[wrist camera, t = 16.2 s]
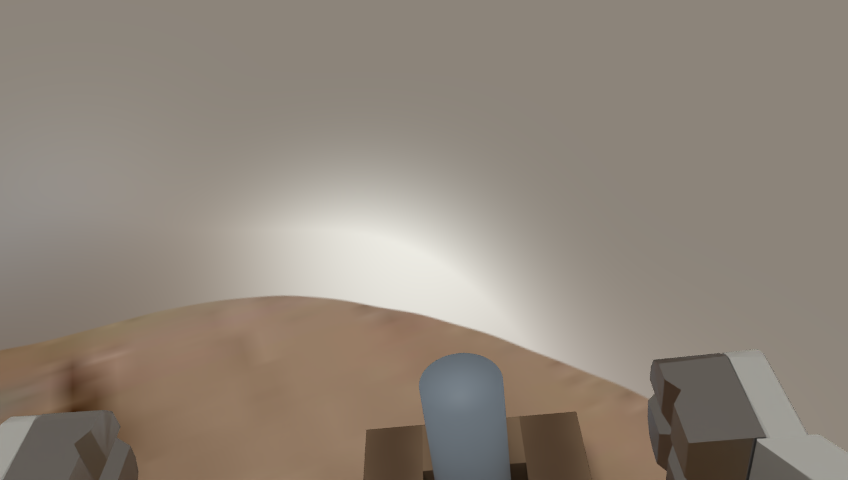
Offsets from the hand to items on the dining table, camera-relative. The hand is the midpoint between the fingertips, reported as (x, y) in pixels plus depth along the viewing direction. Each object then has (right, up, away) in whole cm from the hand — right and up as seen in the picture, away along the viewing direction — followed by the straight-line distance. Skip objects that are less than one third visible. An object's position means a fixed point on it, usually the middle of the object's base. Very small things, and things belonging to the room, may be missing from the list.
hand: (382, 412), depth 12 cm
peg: (+4, -16, +33) cm, 37 cm away
